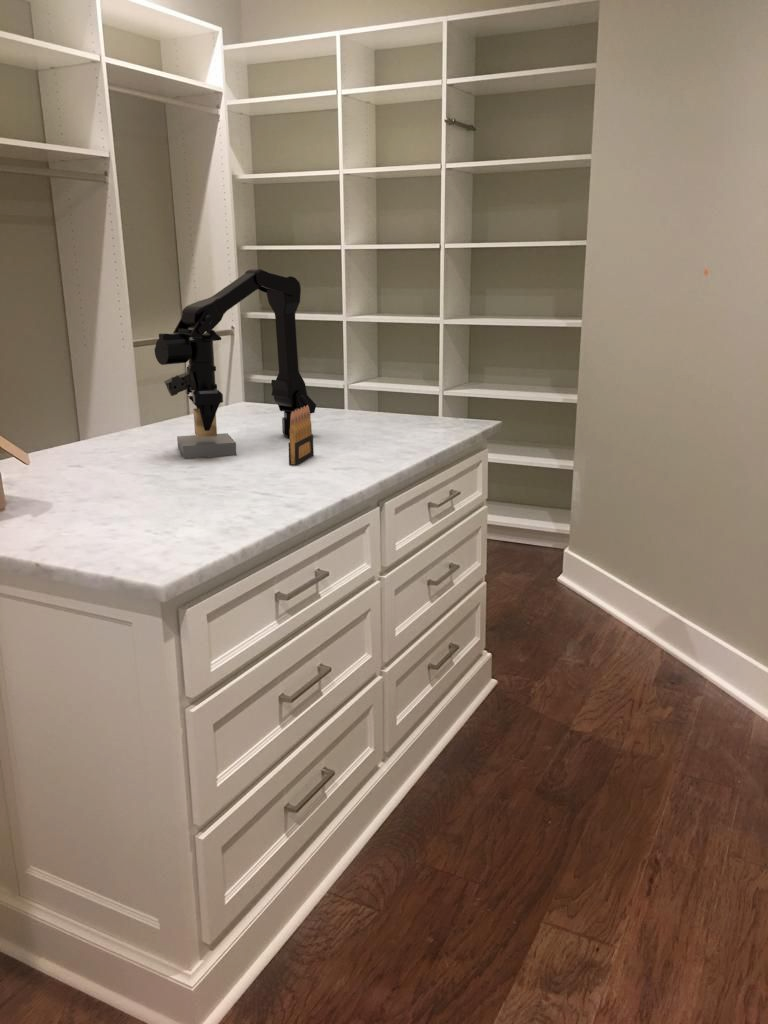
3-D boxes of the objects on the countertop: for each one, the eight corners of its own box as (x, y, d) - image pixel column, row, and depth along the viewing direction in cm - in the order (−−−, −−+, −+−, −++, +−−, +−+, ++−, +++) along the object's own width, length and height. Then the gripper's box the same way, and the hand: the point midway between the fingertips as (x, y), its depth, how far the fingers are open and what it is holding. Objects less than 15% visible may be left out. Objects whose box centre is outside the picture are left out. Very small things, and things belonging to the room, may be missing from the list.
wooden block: (214, 432, 201) (212, 407, 199) (217, 436, 197) (215, 410, 195) (194, 433, 200) (193, 408, 198) (197, 437, 195) (195, 411, 194)
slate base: (228, 445, 207) (227, 433, 206) (236, 455, 196) (235, 442, 195) (177, 448, 203) (177, 436, 202) (183, 458, 192) (182, 446, 191)
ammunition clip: (296, 465, 186) (294, 411, 182) (288, 465, 186) (287, 411, 183) (313, 455, 196) (312, 404, 192) (306, 455, 196) (305, 403, 193)
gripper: (161, 358, 199) (166, 423, 204) (169, 367, 182) (174, 438, 187) (209, 356, 203) (212, 421, 207) (221, 365, 186) (225, 435, 190)
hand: (205, 428), depth 198 cm, fingers closed on wooden block, 4 cm apart
